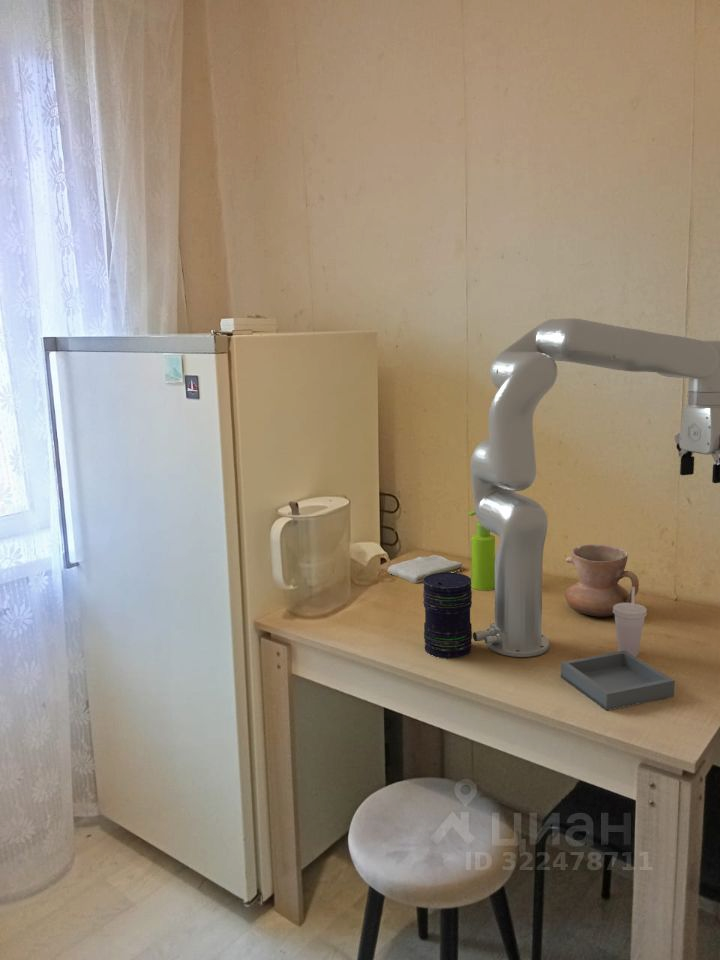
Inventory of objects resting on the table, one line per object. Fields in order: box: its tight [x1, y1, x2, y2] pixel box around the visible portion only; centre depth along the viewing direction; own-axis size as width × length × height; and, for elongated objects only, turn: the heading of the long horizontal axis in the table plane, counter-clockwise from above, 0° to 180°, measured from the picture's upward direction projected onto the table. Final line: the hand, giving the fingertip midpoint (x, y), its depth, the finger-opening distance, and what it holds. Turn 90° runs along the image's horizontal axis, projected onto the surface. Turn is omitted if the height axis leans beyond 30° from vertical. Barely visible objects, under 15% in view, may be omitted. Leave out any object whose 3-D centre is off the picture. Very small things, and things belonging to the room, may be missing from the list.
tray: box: [560, 651, 676, 711], centre depth 141 cm, size 14×14×3 cm
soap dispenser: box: [467, 509, 496, 591], centre depth 196 cm, size 6×7×20 cm
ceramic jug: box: [564, 544, 640, 618], centre depth 177 cm, size 18×14×14 cm
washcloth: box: [387, 554, 463, 584], centre depth 211 cm, size 12×18×3 cm, turn 128°
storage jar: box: [422, 572, 473, 660], centre depth 159 cm, size 10×10×15 cm
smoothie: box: [613, 586, 648, 658], centre depth 154 cm, size 6×6×14 cm
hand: (702, 478), depth 169 cm, fingers open, 9 cm apart
